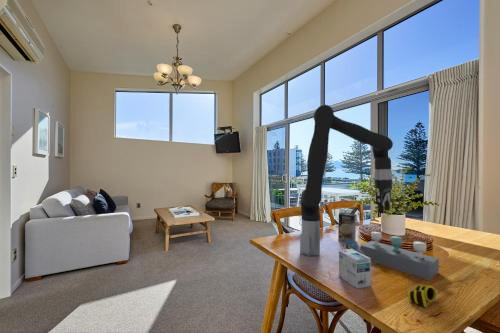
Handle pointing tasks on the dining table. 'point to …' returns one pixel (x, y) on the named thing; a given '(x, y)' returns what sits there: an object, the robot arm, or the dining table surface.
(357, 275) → the light bulb box
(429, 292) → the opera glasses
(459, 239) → the dining table surface
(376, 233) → the inner knob
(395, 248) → the middle knob
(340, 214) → the coffee box
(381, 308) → the dining table surface
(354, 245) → the label tape cartridge
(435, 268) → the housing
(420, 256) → the outer knob
